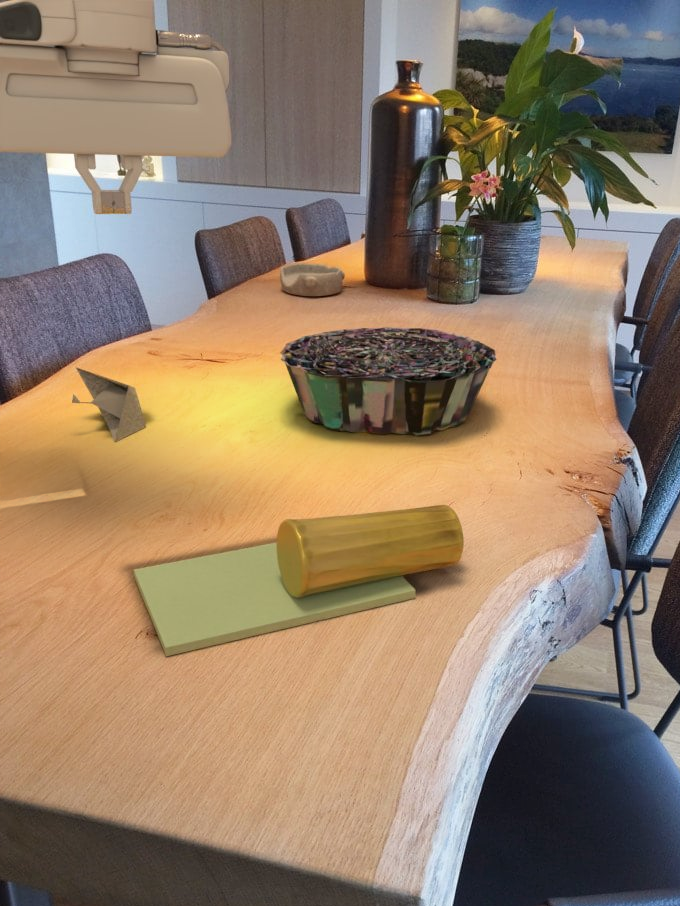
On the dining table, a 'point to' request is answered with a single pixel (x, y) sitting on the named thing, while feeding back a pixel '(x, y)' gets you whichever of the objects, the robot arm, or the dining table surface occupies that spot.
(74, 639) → the dining table surface
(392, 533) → the vase
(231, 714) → the dining table surface
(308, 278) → the dish
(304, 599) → the mat
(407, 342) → the decorative bowl
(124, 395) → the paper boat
